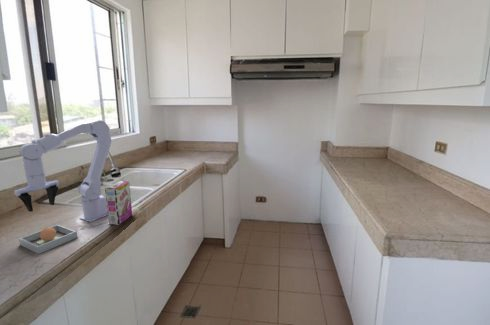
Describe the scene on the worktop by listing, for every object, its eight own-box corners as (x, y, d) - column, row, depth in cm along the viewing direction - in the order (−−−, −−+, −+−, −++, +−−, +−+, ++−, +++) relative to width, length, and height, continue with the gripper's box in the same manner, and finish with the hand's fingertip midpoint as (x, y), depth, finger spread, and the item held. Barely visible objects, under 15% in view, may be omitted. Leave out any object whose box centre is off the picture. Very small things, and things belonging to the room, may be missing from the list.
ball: (53, 236, 104) (51, 224, 103) (59, 239, 102) (57, 227, 101) (38, 241, 100) (36, 228, 99) (44, 244, 97) (42, 232, 96)
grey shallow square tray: (58, 230, 109) (57, 224, 109) (77, 237, 103) (76, 231, 103) (20, 244, 98) (18, 238, 98) (38, 253, 92) (37, 247, 91)
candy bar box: (119, 225, 113) (115, 188, 109) (108, 225, 113) (103, 188, 110) (133, 215, 124) (129, 180, 120) (123, 214, 124) (119, 180, 121)
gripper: (50, 169, 111) (55, 200, 114) (7, 178, 99) (14, 212, 102) (59, 171, 108) (65, 202, 111) (16, 180, 96) (24, 215, 99)
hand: (41, 207), depth 106 cm, fingers open, 7 cm apart
